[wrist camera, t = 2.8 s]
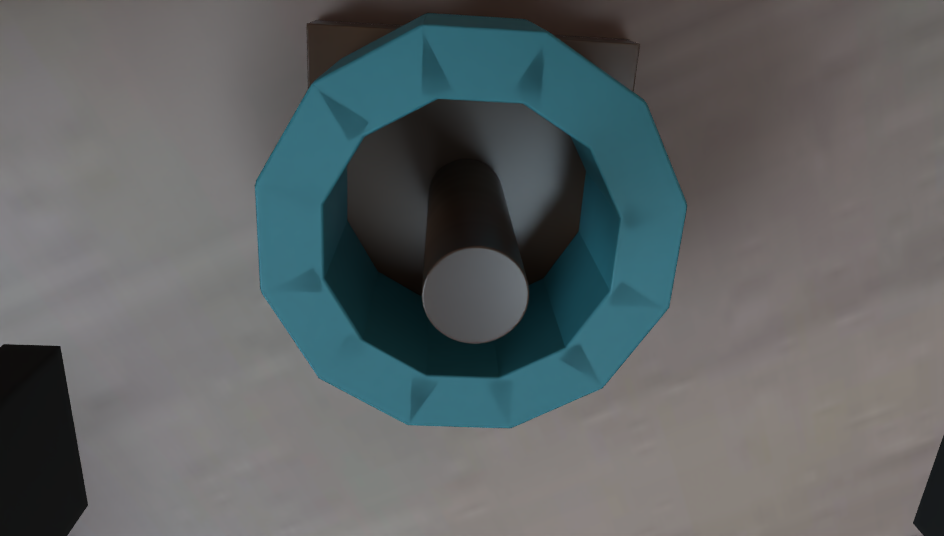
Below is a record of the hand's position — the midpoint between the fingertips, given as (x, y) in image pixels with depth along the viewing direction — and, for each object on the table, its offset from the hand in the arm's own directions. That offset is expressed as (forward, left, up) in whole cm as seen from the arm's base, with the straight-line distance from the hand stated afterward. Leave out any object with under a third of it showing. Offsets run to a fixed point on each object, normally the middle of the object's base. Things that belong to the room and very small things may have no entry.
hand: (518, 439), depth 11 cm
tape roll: (0, 0, -14) cm, 14 cm away
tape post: (0, 0, -15) cm, 15 cm away
